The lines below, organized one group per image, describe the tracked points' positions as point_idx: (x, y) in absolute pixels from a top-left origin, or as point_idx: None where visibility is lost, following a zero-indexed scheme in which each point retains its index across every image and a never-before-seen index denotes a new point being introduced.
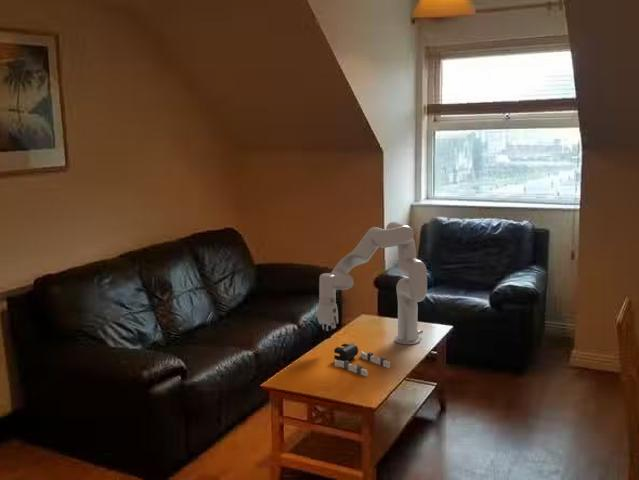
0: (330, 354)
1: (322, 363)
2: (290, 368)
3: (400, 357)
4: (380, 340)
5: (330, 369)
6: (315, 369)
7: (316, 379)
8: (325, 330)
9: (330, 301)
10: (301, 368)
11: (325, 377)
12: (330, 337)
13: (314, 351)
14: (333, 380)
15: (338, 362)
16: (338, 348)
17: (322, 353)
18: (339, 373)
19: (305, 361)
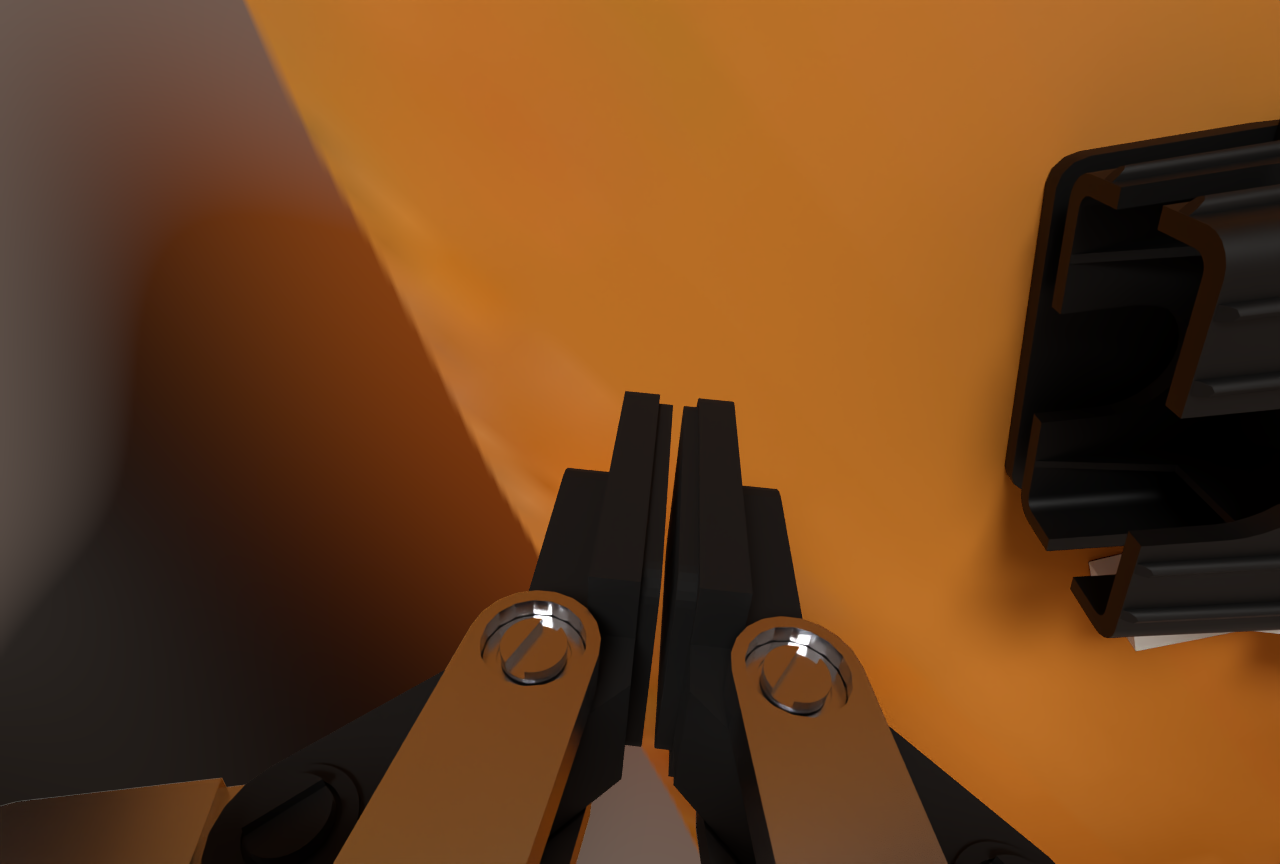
0: (756, 292)
1: (879, 598)
2: (680, 795)
3: None
4: None
5: (1082, 667)
6: (912, 728)
7: (1059, 841)
8: (634, 730)
9: None
10: None
11: (1127, 796)
12: (733, 413)
13: (447, 355)
14: (1246, 808)
15: None
16: (1211, 619)
17: (612, 342)
18: (1253, 693)
19: (658, 647)
